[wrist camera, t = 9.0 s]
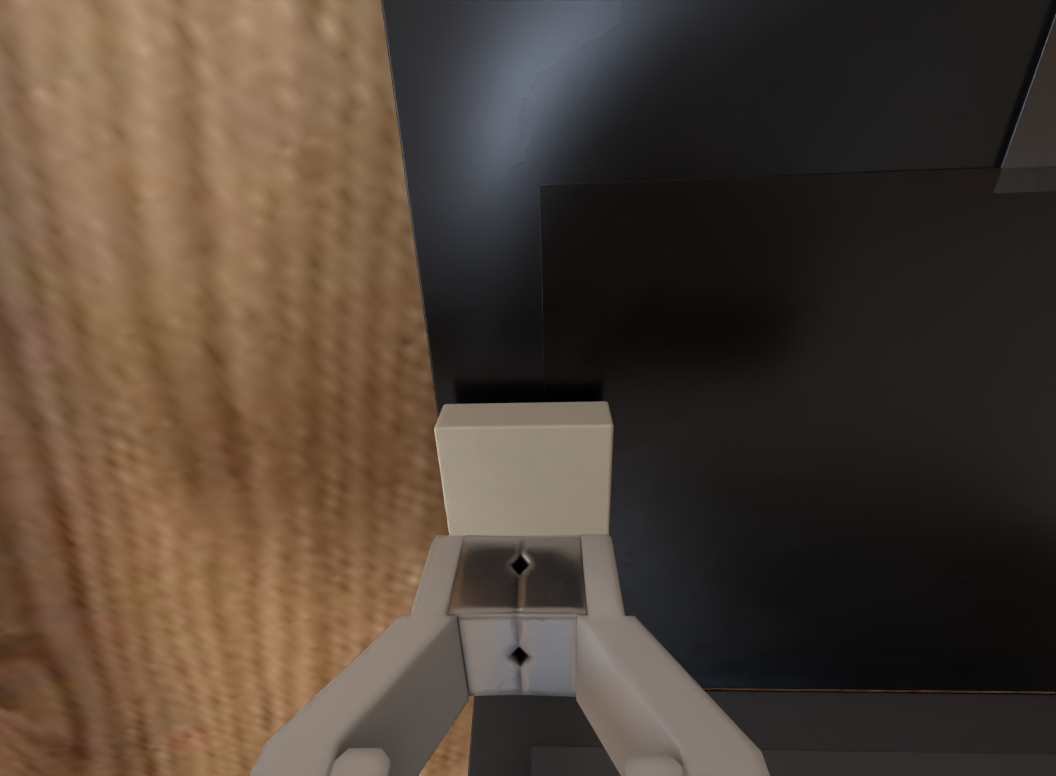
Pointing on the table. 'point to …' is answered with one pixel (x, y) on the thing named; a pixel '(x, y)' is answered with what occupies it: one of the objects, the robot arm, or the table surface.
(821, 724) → the laptop screen
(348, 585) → the table surface
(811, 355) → the laptop
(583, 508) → the off-white flat block
